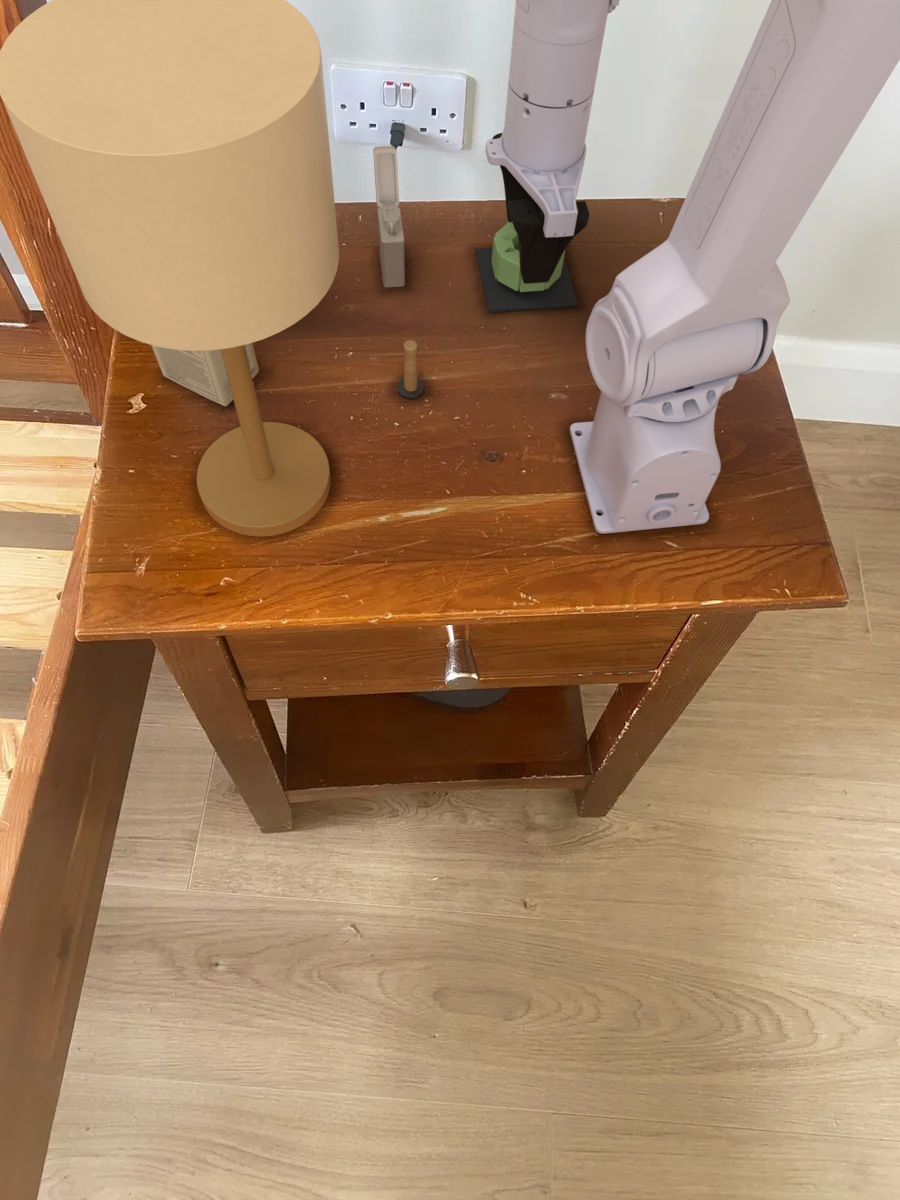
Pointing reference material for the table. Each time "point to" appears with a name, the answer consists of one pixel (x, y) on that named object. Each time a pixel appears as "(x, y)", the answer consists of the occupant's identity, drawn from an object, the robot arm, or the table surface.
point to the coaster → (511, 300)
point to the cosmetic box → (201, 371)
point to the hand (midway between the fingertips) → (528, 253)
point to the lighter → (389, 216)
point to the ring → (515, 262)
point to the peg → (410, 373)
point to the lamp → (191, 200)
